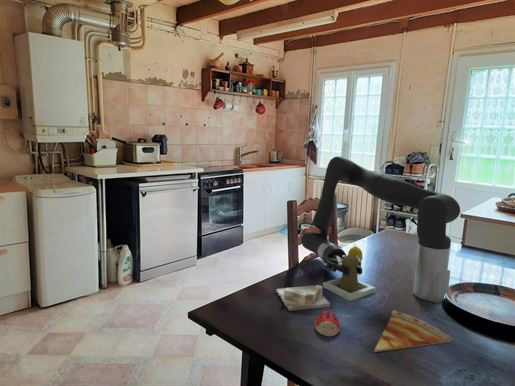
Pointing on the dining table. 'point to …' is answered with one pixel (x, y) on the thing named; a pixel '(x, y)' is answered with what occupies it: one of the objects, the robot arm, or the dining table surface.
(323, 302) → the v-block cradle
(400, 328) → the pizza slice
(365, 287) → the block
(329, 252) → the robot arm
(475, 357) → the dining table surface
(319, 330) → the ladybug figurine
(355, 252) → the lemon
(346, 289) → the olive tall tapered post
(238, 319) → the dining table surface
